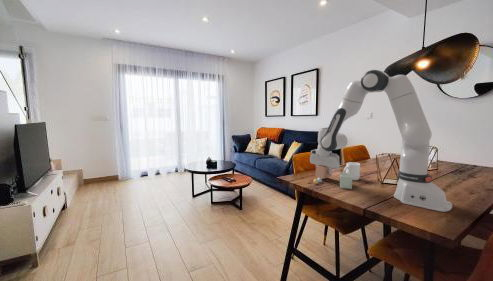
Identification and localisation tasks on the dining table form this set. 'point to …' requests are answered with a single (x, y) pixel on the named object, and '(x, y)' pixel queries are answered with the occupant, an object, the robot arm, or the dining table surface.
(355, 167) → the mug
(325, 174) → the dusty pink block
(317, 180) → the marble amber
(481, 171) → the dining table surface
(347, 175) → the mint green block
